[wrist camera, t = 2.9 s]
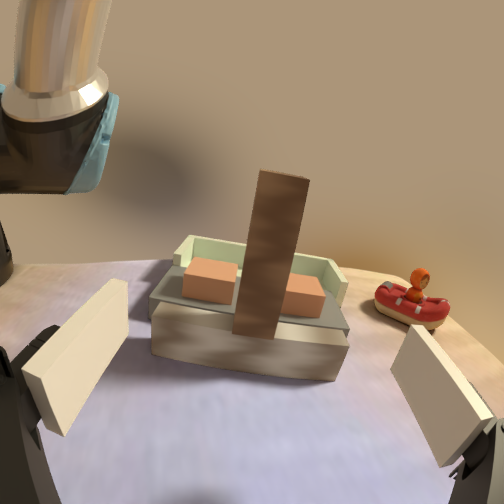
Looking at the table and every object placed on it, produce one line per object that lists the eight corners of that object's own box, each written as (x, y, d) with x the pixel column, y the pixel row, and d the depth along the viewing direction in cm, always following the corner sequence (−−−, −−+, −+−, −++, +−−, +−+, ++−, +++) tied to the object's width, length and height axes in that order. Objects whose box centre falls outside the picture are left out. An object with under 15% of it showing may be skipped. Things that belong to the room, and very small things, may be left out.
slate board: (148, 318, 28) (148, 297, 27) (171, 283, 37) (172, 264, 36) (342, 348, 29) (349, 329, 28) (325, 308, 37) (330, 291, 37)
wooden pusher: (150, 357, 23) (162, 156, 18) (160, 336, 26) (175, 156, 21) (335, 384, 23) (397, 201, 18) (328, 362, 26) (380, 195, 22)
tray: (171, 283, 37) (173, 253, 35) (186, 259, 45) (189, 234, 44) (339, 310, 37) (348, 282, 36) (326, 282, 46) (332, 259, 45)
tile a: (181, 296, 29) (183, 273, 28) (191, 276, 34) (194, 256, 33) (231, 305, 29) (235, 282, 28) (234, 284, 34) (238, 264, 33)
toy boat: (437, 342, 32) (459, 290, 30) (365, 310, 39) (381, 259, 37) (442, 323, 38) (460, 278, 35) (380, 296, 45) (394, 252, 42)
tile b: (271, 311, 29) (276, 289, 28) (269, 290, 34) (274, 270, 33) (319, 318, 29) (326, 296, 29) (311, 296, 34) (317, 277, 33)
